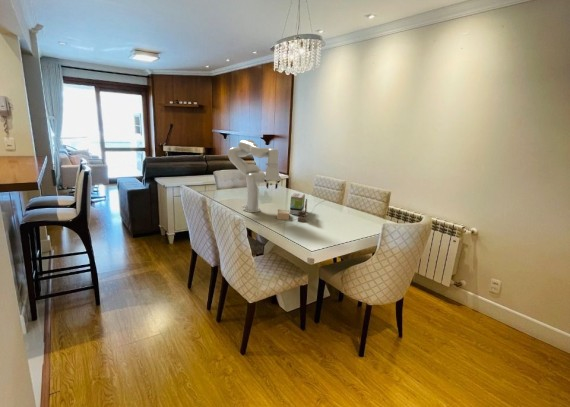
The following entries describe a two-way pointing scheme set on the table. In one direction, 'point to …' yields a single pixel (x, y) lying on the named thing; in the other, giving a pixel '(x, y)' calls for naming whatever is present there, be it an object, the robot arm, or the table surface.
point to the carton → (283, 214)
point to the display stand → (303, 214)
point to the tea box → (297, 203)
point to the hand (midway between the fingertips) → (271, 188)
